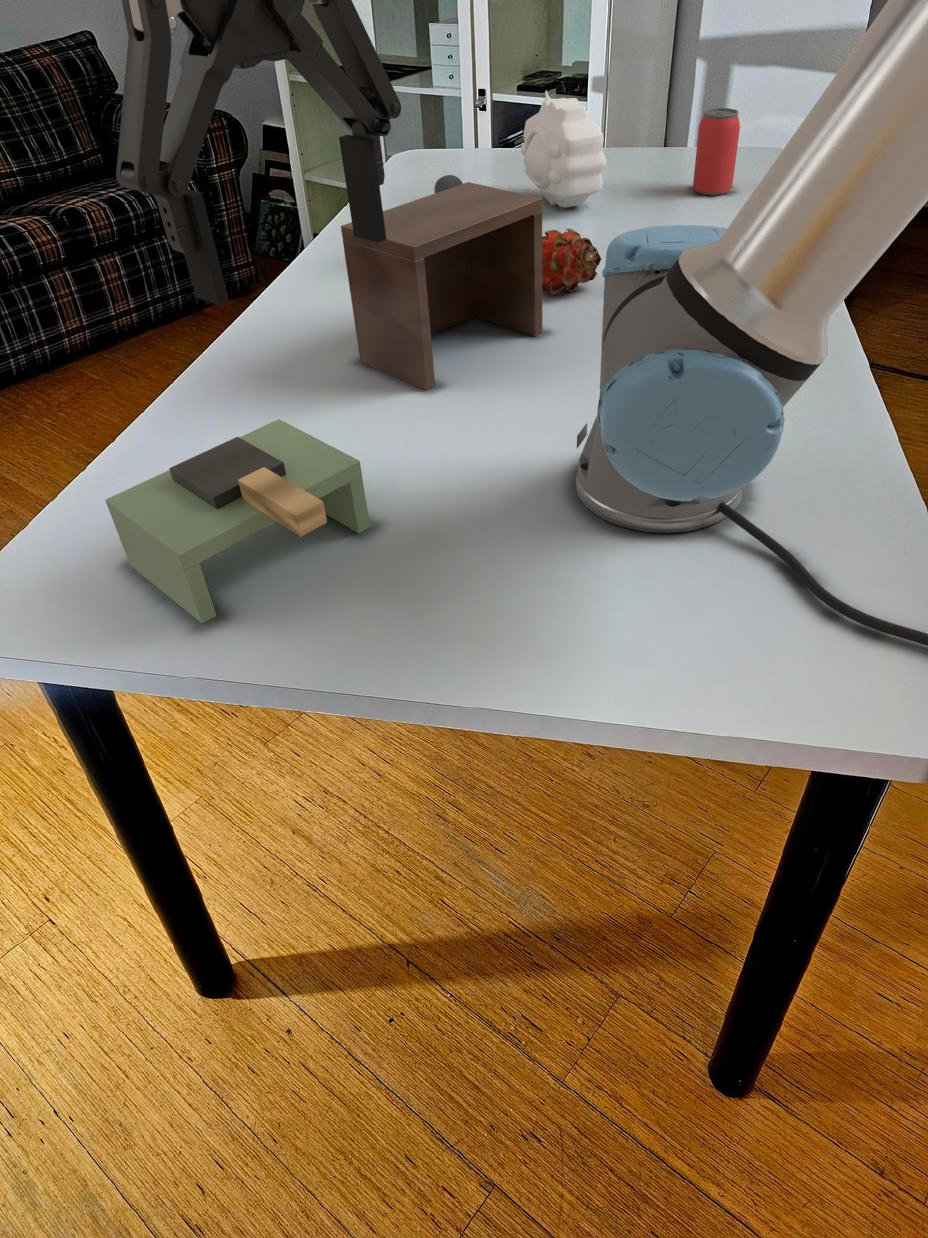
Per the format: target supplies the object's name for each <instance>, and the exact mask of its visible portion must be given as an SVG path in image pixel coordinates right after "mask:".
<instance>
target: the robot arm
mask: <svg viewBox="0 0 928 1238" xmlns="http://www.w3.org/2000/svg"><path fill="white" fill-rule="evenodd" d="M305 1H306V0H121V4H122V9H123V14H124V20H125V26H126V31H127V36H128V41H127V50H126V52H127V53H126V63H125V75H124V81H123V82H124V83H123V95H122V106H121V116H120V127H119V139H118V148H117V158H116V159H117V160H116V171H115V178H116V180H117V183H118V184H119V185H120V186H121V187H122V188H125V189H128V190H132V191H136V192H140V193H144V194H151V195H152V196H153V197H154V199H155V200H156V204H157V207H158V210H159V213H160V214H159V215H160V218H161V221H162V224H163V228H164V231H165V235H166V238H167V239H166V240H167V242H168V244H169V245H170V247H171V249H172V250H173V251H176V252H179V253H182V254H183V255H184V259H185V262H186V267H187V270H188V273H189V277H190V280H191V284H192V287H193V291H194V294H195V298H197V299H200V300H203V301H205V302H208V303H211V304H213V305H216V306H218V307H220V306H223V305H225V304H228V303H230V299H229V294H228V291H227V286H226V283H225V279H224V275H223V271H222V268H221V263H220V260H219V256H218V252H217V248H216V243H215V239H214V236H213V232H212V228H211V223H210V221H209V215H208V211H207V209H206V204H205V201H204V196H203V193H202V192H201V191H196V190H193V189H188V188H189V186H190V184H191V183H190V182H191V179H192V177H193V174H194V171H195V168H196V165H197V162H198V159H199V156H200V153H201V150H202V147H203V145H204V141H205V138H206V135H207V132H208V129H209V127H210V125H211V121H212V118H213V114H214V111H215V108H216V106H217V103H218V100H219V97H220V94H221V91H222V88H223V86H224V85H225V84H226V83H227V82H228V81H229V80H230V79H231V76H232V74H233V71H234V69H241V70H245V69H251V68H254V67H256V66H257V65H259V64H260V63H262V62H263V61H268V62H279V61H284V60H287V61H288V62H289V63H290V64H291V65H292V66H293V67H294V69H295V70H296V71H297V72H298V73H299V74H300V75H301V77H302V78H303V79H304V80H305V81H306V83H307V84H308V85H309V86H310V87H311V88H312V89H313V90H314V92H315V93H316V94H317V95H318V97H320V98H321V100H322V101H323V102H324V103H325V105H327V107H329V109H330V110H331V111H332V113H334V114H335V116H336V117H337V118H338V119H339V120H340V121H341V122H342V124H343V125H344V126H345V128H347V130H348V131H350V133H352V134H345V135H341V136H338V140H339V147H340V153H341V160H342V166H343V174H344V180H345V186H346V193H347V199H348V205H349V213H350V219H351V222H352V226H353V233H354V236H355V237H359V238H363V239H367V240H370V241H374V242H378V243H379V242H382V241H384V240H387V239H386V232H385V224H384V216H383V211H384V209H383V203H382V195H381V188H380V187H381V186H383V185H384V184H385V177H386V176H385V175H386V174H385V167H384V161H383V159H384V157H383V150H382V144H381V143H382V142H381V137H386V136H388V135H389V134H390V132H391V128H392V123H391V121H390V120H391V119H393V120H394V119H397V118H399V117H400V115H401V113H402V104H401V101H400V99H399V97H398V94H397V93H396V91H395V87H393V84H392V82H391V80H390V77H389V75H388V73H387V72H386V69H385V67H384V66H383V63H382V61H381V59H380V57H379V54H378V52H377V51H376V48H375V46H374V44H373V42H372V40H371V37H370V36H369V34H368V31H367V30H366V28H365V25H364V23H363V20H362V19H361V16H360V14H359V13H358V11H357V8H356V6H355V4H354V2H353V0H308V1H309V2H310V3H311V4H312V7H313V10H314V13H315V15H316V17H317V20H318V21H319V23H320V24H321V27H322V28H323V32H324V33H325V35H326V37H327V39H328V40H329V43H330V45H331V46H332V49H333V51H334V53H335V54H336V56H337V58H338V60H339V62H340V64H341V66H342V68H343V69H342V68H341V66H340V65H339V64H338V63H337V62H336V60H335V59H334V58H333V57H332V56H331V54H330V53H329V52H328V51H327V49H326V48H325V47H324V45H323V43H324V41H323V39H322V37H321V36H320V35H319V33H318V32H317V31H316V30H315V29H314V27H313V26H312V25H311V24H310V23H309V21H308V20H307V18H305V16H304V15H303V14H302V11H303V7H304V4H305ZM177 18H178V19H179V20H180V21H181V23H182V24H183V25H184V26H185V27H186V28H187V29H188V31H189V34H188V37H187V39H186V41H185V42H186V43H185V45H184V49H183V51H182V54H181V58H180V61H179V63H180V67H181V72H180V75H179V78H178V82H177V85H176V87H175V89H174V90H175V91H174V93H173V97H172V100H171V102H170V106H169V109H168V111H167V115H166V109H167V107H166V106H167V97H168V87H169V80H170V70H171V60H172V35H173V33H174V32H175V30H176V29H177V27H178V21H177ZM827 85H828V86H827V87H826V88H825V90H824V91H823V93H822V94H821V95H820V97H819V98H818V99H817V101H816V102H815V104H814V105H813V107H812V108H811V110H810V111H809V112H808V114H807V115H806V116H805V118H804V119H803V121H802V122H801V124H800V125H799V127H797V129H796V131H794V134H793V135H792V137H790V139H789V140H788V143H786V145H785V146H784V148H783V149H782V151H781V152H780V153H779V155H778V156H777V158H776V159H775V161H774V162H773V163H772V164H771V166H770V167H769V169H768V170H767V172H766V173H765V175H764V176H763V178H762V179H761V181H760V182H759V183H758V184H757V186H756V187H755V189H754V190H753V192H752V193H751V195H750V196H749V198H748V199H747V200H746V202H745V203H744V204H743V206H742V207H741V208H740V210H739V212H738V213H737V214H736V216H735V217H734V218H733V220H732V222H731V223H730V224H729V226H728V227H720V226H712V225H711V226H710V225H695V224H690V225H689V224H684V225H683V224H681V225H679V224H677V225H676V224H675V225H659V226H649V227H643V228H638V229H633V230H629V231H626V232H623V233H621V234H619V235H617V236H616V237H614V238H613V239H612V240H611V241H610V243H609V244H608V246H607V249H606V252H605V253H606V254H605V264H604V268H603V269H602V272H601V274H602V278H604V279H603V280H604V283H603V304H602V305H603V307H602V327H601V328H602V329H601V331H602V332H601V350H600V373H599V374H600V375H599V398H598V403H597V409H596V410H597V411H596V417H595V419H594V421H593V424H592V426H591V428H590V431H589V434H588V422H586V423H585V424H584V426H583V427H582V428H581V430H580V431H579V433H578V434H577V435H576V449H579V447H580V445H581V444H582V443H583V442H584V441H585V443H584V446H583V448H582V451H581V453H580V457H579V459H578V463H577V466H576V479H575V481H576V482H575V483H576V484H575V488H576V493H577V496H578V498H579V500H580V501H581V503H582V504H583V505H584V506H585V507H586V509H588V510H589V511H590V512H591V513H593V514H594V515H596V516H597V517H599V518H601V519H602V520H604V521H606V522H609V523H610V524H613V525H617V526H619V527H622V528H625V529H630V530H635V531H640V532H646V533H647V532H648V533H658V534H659V533H663V534H665V533H667V534H668V533H669V534H670V533H684V532H689V531H695V530H699V529H703V528H706V527H709V526H712V525H715V524H716V523H719V522H721V521H722V520H724V519H725V518H728V519H729V520H731V521H732V522H733V523H735V525H737V526H738V527H740V528H741V529H742V530H743V531H745V532H747V534H749V535H750V536H752V537H753V538H754V539H756V540H757V541H758V542H759V543H761V544H762V545H763V546H765V547H766V548H767V549H769V550H770V551H772V553H773V554H775V555H776V556H777V557H778V558H780V560H781V561H783V562H784V563H785V564H786V565H787V566H788V568H789V569H790V570H791V571H792V572H793V573H794V574H795V575H796V576H797V578H798V579H799V580H800V581H801V582H802V584H803V585H804V586H805V587H806V588H807V589H808V590H809V591H810V592H811V593H812V594H813V595H814V596H815V597H816V598H817V599H818V600H820V601H821V602H822V603H823V604H824V605H826V606H827V607H829V608H831V609H832V610H834V611H836V612H837V613H838V614H841V615H842V616H844V617H845V618H848V619H850V620H852V621H853V622H856V623H858V624H860V625H863V626H864V627H867V628H870V629H873V630H876V631H878V632H881V633H884V634H887V635H891V636H892V637H893V636H894V637H897V638H900V639H904V640H907V641H910V642H914V643H917V644H920V645H924V646H926V647H928V633H927V632H924V631H920V630H916V629H913V628H910V627H906V626H903V625H899V624H896V623H893V622H890V621H887V620H885V619H880V618H878V617H875V616H873V615H871V614H867V613H866V612H863V611H862V610H859V609H857V608H854V607H853V606H851V605H849V604H847V603H846V602H845V601H842V600H841V599H839V598H837V597H836V596H835V595H833V594H832V593H830V592H829V591H828V590H827V589H825V588H824V587H823V586H822V585H821V584H820V583H819V582H818V581H817V580H816V579H815V578H814V577H813V575H811V573H810V572H809V571H808V570H807V569H806V567H805V566H804V565H803V564H802V563H801V562H800V561H799V560H798V559H797V558H796V557H795V556H794V555H793V554H792V553H791V552H790V551H788V550H787V549H786V548H785V547H784V546H783V545H781V544H780V542H778V541H776V539H774V538H773V537H772V536H770V535H769V534H767V533H766V532H765V531H763V530H762V529H760V528H759V527H758V526H757V525H755V524H754V523H753V522H751V521H750V520H749V519H747V518H746V517H745V516H744V515H742V514H740V512H737V511H736V509H737V508H738V506H739V504H740V503H741V499H742V494H743V491H744V487H745V486H746V485H748V484H749V483H751V482H752V481H753V480H754V479H756V478H757V477H758V476H759V475H760V474H761V473H762V472H764V470H766V468H767V467H768V466H769V465H770V463H771V462H772V460H773V458H774V456H775V455H776V453H777V451H778V449H779V447H780V443H781V439H782V436H783V432H784V425H785V421H786V419H785V415H784V411H785V410H784V407H785V406H786V405H787V404H788V403H789V402H790V400H791V399H792V398H793V397H794V396H795V395H796V393H797V392H798V391H799V390H800V389H801V388H802V387H803V386H804V384H805V383H806V382H807V381H808V380H809V379H810V377H811V376H812V375H813V374H814V372H815V371H817V369H818V368H819V367H820V366H821V364H823V362H824V361H825V360H826V358H827V357H828V351H829V350H828V335H827V333H828V331H827V326H828V322H829V319H830V317H831V316H832V315H833V314H834V312H835V311H836V310H837V309H838V307H840V305H842V303H843V302H844V300H845V299H846V298H847V297H848V296H849V295H850V293H851V292H852V291H853V290H854V289H855V287H856V286H857V285H858V284H859V283H860V282H861V280H862V279H863V278H864V277H865V276H866V275H867V274H868V272H869V271H870V270H871V269H872V267H873V266H874V265H875V264H876V262H878V260H879V259H880V258H881V256H883V254H885V252H886V251H887V250H888V249H889V247H890V246H892V243H893V242H895V240H896V239H897V238H898V237H899V235H900V234H901V233H902V232H903V231H904V229H905V228H906V227H907V226H908V224H909V223H910V222H911V221H912V220H913V219H914V218H915V216H917V214H918V213H919V211H921V209H922V208H923V207H924V206H925V205H926V204H927V202H928V0H887V2H886V3H885V4H884V6H883V7H882V9H881V10H880V12H879V13H878V15H877V16H876V17H875V19H874V20H873V22H872V23H871V24H870V26H869V27H868V29H867V30H866V31H865V33H864V34H863V36H862V37H861V38H860V40H859V41H858V43H857V44H856V46H855V47H854V48H853V50H852V52H850V54H849V56H848V57H847V58H846V60H845V61H844V63H843V64H842V66H840V68H839V70H838V71H837V73H836V74H835V75H834V77H833V78H832V80H831V82H829V84H827ZM165 117H166V118H165ZM586 438H587V439H586ZM585 439H586V440H585Z"/></svg>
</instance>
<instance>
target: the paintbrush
mask: <svg viewBox="0 0 928 1238" xmlns="http://www.w3.org/2000/svg"><path fill="white" fill-rule="evenodd" d="M461 184H464V182H463V181H462V180H461V179H460V178H459V177H458V176H456V175H453V174H445V175H443V176H441V177H439V179H437V180H436V182H435V183H434V194H435V193H438V192H441V191H444V190H447V189H449V188H452V187H455V186H458V185H461Z"/></svg>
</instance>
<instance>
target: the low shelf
mask: <svg viewBox="0 0 928 1238" xmlns="http://www.w3.org/2000/svg"><path fill="white" fill-rule="evenodd" d="M238 437H239V438H241V439H243V440H245V441H246V442H248V443H250V444H252V445H253V446H255V447H257V448H259V449H261V450H262V451H264V452H266V453H268V454H269V455H271V456H273V457H275V458H277V459H278V460H280V461H282V462H283V463H284V467H285V471H286V475H284V476H282V478H284V479H285V480H287V481H289V482H291V483H292V484H294V485H296V486H297V487H299V488H301V489H303V490H304V491H306V492H308V493H309V494H311V495H313V496H315V497H316V498H318V499H320V500H322V501H323V503H324V508H325V514H326V516H328V517H329V518H332V519H333V520H335V521H337V522H338V523H339V524H341V525H343V526H345V527H346V528H348V529H350V530H352V531H354V532H355V533H357V534H361V533H363V532H364V531H366V530H368V529H369V528H370V527H371V523H370V517H369V511H368V505H367V499H366V493H365V485H364V479H363V472H362V466H361V461H360V460H359V459H357V458H355V457H353V456H351V455H349V454H347V453H346V452H343V451H341V450H340V449H338V448H336V447H334V446H332V445H330V444H329V443H326V442H324V441H322V440H320V439H318V438H316V437H315V436H313V435H311V434H309V433H307V432H305V431H304V430H301V429H299V428H297V427H296V426H293V425H292V424H290V423H287V422H286V421H284V420H282V419H280V418H278V419H276V420H274V421H271V422H269V423H267V424H265V425H263V426H261V427H259V428H256V429H255V430H252V431H250V432H248V433H246V434H243V435H241V436H238ZM104 502H105V503H106V506H107V509H108V511H109V514H110V517H111V519H112V522H113V525H114V527H115V530H116V532H117V535H118V538H119V541H120V543H121V545H122V547H123V550H124V553H125V556H126V558H127V561H128V563H129V566H130V567H132V568H133V569H134V570H135V571H136V572H138V573H139V574H140V575H141V576H142V577H144V579H146V580H148V581H149V582H150V583H151V584H152V585H153V586H155V587H156V588H157V589H158V590H159V591H161V592H162V593H163V594H165V595H166V596H167V597H168V598H170V599H171V600H172V601H173V602H174V603H176V604H177V605H178V606H179V607H181V608H182V609H183V610H185V611H186V612H187V613H188V614H189V615H191V616H192V617H193V618H194V619H195V620H197V622H199V623H200V624H202V625H203V624H205V623H207V622H208V621H210V620H212V619H215V617H217V613H216V610H215V607H214V604H213V601H212V597H211V594H210V591H209V588H208V585H207V581H206V579H205V576H204V573H203V568H202V565H201V562H204V561H205V560H207V559H210V558H211V557H213V556H214V555H216V554H218V553H220V552H222V551H224V550H226V549H228V548H229V547H231V546H234V545H235V544H237V543H239V542H240V541H242V540H244V539H247V538H248V537H250V536H252V535H254V534H255V533H258V532H259V531H261V530H263V529H266V528H267V527H269V526H271V525H272V524H275V523H276V522H277V521H275V520H274V519H272V518H270V517H269V516H267V515H266V514H264V513H263V512H261V511H259V510H258V509H256V508H255V507H253V506H251V505H250V504H248V503H247V502H245V501H244V500H243V498H242V497H241V498H239V499H237V500H235V501H233V502H231V503H229V504H227V505H225V506H223V507H221V508H219V509H216V508H214V507H213V506H211V505H210V504H208V503H207V502H205V501H204V500H202V499H200V498H199V497H197V496H196V495H194V494H193V493H191V492H190V491H188V490H187V489H185V488H184V487H182V486H181V485H179V484H178V483H176V482H175V481H173V479H172V476H171V473H170V470H169V469H168V470H166V471H164V472H162V473H160V474H158V475H156V476H153V477H151V478H149V479H147V480H145V481H143V482H140V483H138V484H136V485H134V486H131V487H129V488H127V489H125V490H123V491H120V492H119V493H117V494H115V495H112V496H110V497H108V498H106V499H105V500H104Z"/></svg>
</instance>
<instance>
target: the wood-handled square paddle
mask: <svg viewBox="0 0 928 1238" xmlns="http://www.w3.org/2000/svg"><path fill="white" fill-rule="evenodd" d="M239 437H240V436H235V437H233V438H232V439H229V440H226V441H225V442H223V443H221V444H218V445H216V446H214V447H211V448H210V449H207V450H206V451H204V452H200V453H199V454H197V455H194V456H192V457H191V458H188V459H186V460H184V461H181V462H180V463H177V464H175V465H173V466H171V467H169V468H168V470H170V473H171V476H172V479H173V481H175V482H176V483H178V484H179V485H181V486H182V487H184V488H185V489H187V490H188V491H190V492H191V493H193V494H194V495H196V496H197V497H199V498H200V499H202V500H204V501H205V502H207V503H208V504H210V505H211V506H213V507H214V508H216V509H219V508H221V507H223V506H225V505H227V504H229V503H231V502H233V501H235V500H237V499H239V498H241V497H242V498H243V500H244V501H245V502H247V503H248V504H250V505H251V506H253V507H255V508H256V509H258V510H259V511H261V512H263V513H264V514H266V515H267V516H269V517H270V518H272V519H274V520H275V521H276V522H277V523H278V524H280V525H282V526H283V527H284V528H286V529H288V530H289V531H291V532H293V533H295V534H296V535H297V536H298V537H300V538H302V537H304V536H306V535H307V534H310V533H311V532H313V531H314V530H316V529H318V528H320V527H321V526H324V525H325V524H327V523H328V519H327V514H325V508H324V503H323V501H322V500H320V499H318V498H316V497H315V496H313V495H311V494H309V493H308V492H306V491H304V490H303V489H301V488H299V487H297V486H296V485H294V484H292V483H291V482H289V481H287V480H285V479H284V478H282V476H284V475H286V471H285V467H284V463H283V462H282V461H280V460H278V459H277V458H275V457H273V456H271V455H269V454H268V453H266V452H264V451H262V450H261V449H259V448H257V447H255V446H253V445H252V444H250V443H248V442H246V441H245V440H243V439H241V438H239Z"/></svg>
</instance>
